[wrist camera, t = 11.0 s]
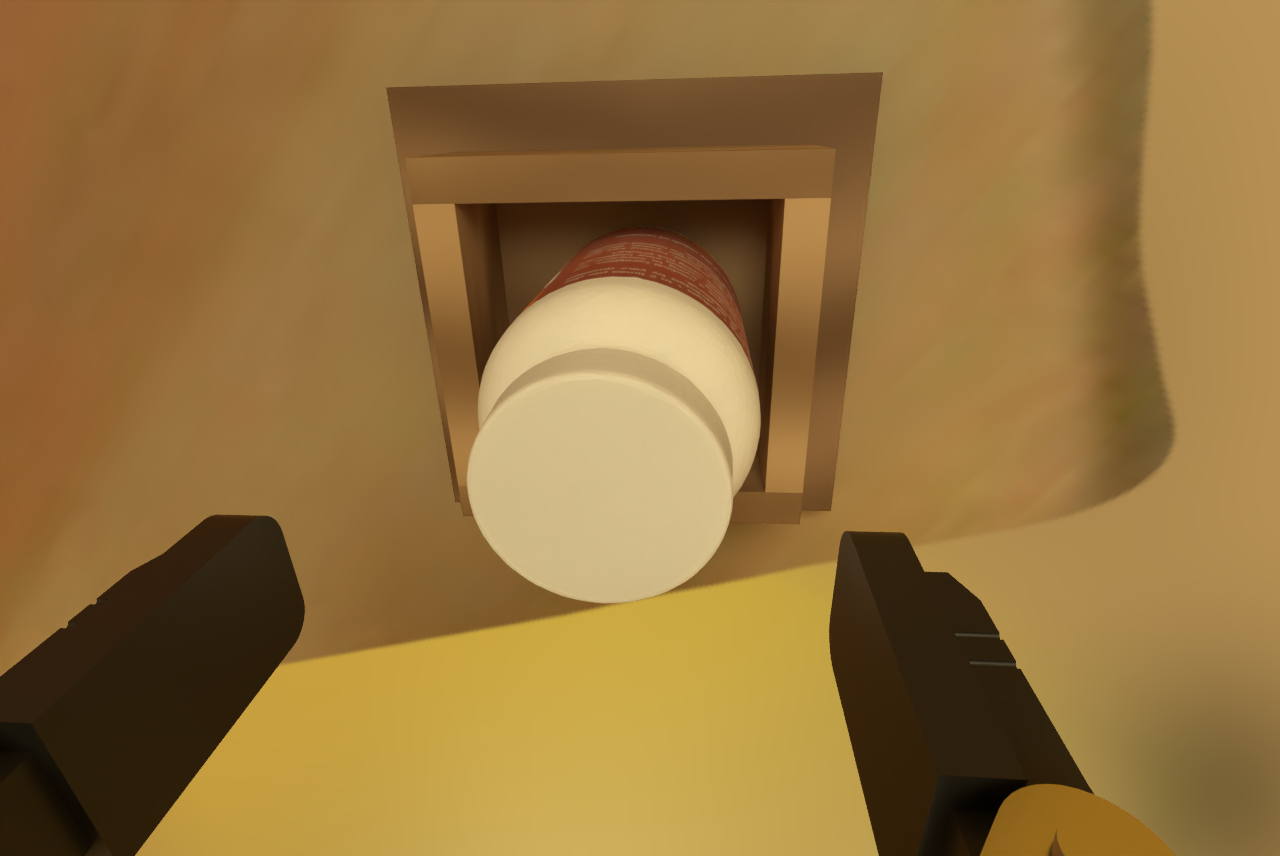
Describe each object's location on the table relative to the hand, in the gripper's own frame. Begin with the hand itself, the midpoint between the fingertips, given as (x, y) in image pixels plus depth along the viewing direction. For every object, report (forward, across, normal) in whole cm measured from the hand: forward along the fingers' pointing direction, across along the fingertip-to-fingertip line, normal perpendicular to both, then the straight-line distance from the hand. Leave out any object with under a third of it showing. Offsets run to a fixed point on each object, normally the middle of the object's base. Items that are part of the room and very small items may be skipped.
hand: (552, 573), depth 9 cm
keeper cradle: (+14, 0, 0) cm, 14 cm away
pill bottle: (+13, 0, 0) cm, 13 cm away
